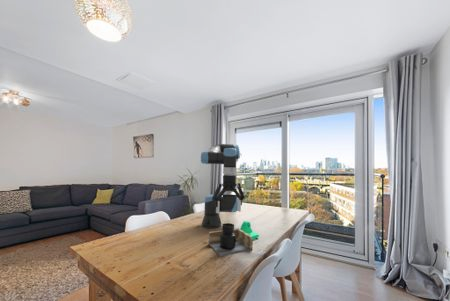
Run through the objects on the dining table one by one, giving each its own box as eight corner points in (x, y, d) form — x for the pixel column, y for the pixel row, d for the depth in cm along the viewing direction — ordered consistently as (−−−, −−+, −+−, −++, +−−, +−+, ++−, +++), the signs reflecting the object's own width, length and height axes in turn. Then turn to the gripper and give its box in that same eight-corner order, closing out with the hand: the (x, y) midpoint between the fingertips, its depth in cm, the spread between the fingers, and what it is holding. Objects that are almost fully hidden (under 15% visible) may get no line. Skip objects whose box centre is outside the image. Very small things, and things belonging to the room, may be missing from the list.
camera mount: (245, 242, 122) (246, 225, 123) (237, 238, 128) (238, 222, 129) (259, 238, 129) (259, 222, 130) (251, 235, 135) (251, 219, 136)
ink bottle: (237, 244, 116) (237, 223, 117) (235, 250, 107) (235, 227, 108) (220, 242, 117) (221, 222, 118) (217, 249, 109) (218, 226, 110)
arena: (208, 244, 117) (209, 232, 117) (238, 239, 125) (238, 228, 126) (219, 255, 102) (219, 241, 103) (252, 249, 111) (252, 236, 111)
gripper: (211, 175, 107) (210, 215, 105) (251, 175, 117) (250, 211, 116) (207, 174, 113) (205, 212, 112) (244, 174, 124) (244, 209, 123)
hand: (228, 212), depth 114 cm, fingers open, 13 cm apart
